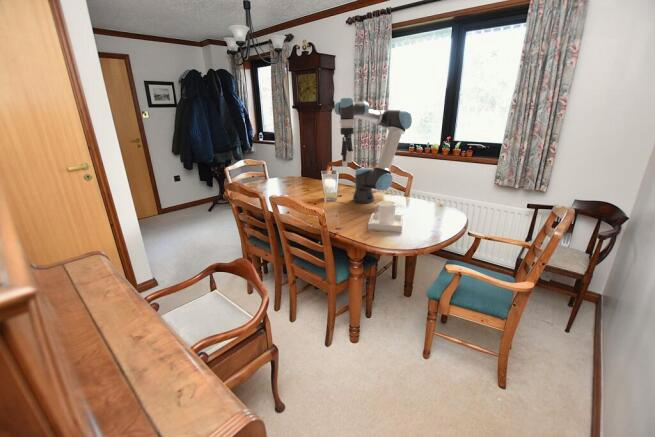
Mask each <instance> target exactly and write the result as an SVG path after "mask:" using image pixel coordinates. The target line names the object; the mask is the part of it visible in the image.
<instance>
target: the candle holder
mask: <svg viewBox="0 0 655 437" xmlns="http://www.w3.org/2000/svg"><path fill="white" fill-rule="evenodd" d="M396 206H397V204H396V202H394V201H390V200H383V201H379V202H378V203H377V213H378V222H379V224H390V225H393V223H394V215H395V214H396Z"/></svg>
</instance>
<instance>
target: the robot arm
mask: <svg viewBox="0 0 655 437" xmlns="http://www.w3.org/2000/svg"><path fill="white" fill-rule="evenodd" d="M333 110H334V113H335V114H336V115H339V116H340V121H339V124H340V128H339V130H340V135H341V136H342V142H341V152H340V156H342V157H341V158H342V159H341V160H342V163H341V164H342V166H341V167H342V168H347V167H348V163H353V152H354V148H353V139H352V135H354V134H355V132H354V131H355V128H354V126H355V122H354V121H355V119H358V120H362V121H367V122H371V123H372V124H373V125H376V126H380V127H381V128H386V129H387V130H388V132H387V136H386V139H385V142H384V145H383V147H382V148H383V149H382V151H381V154H380V157H379V160H378V163H377V165H376V166H375V167H373V168H372V167H361V168H357V169H355V175H354V176H355V181H354V183H355V187H354V188H355V190H354V193H353V195H352V196H353V197H352V202H354V203H357V204H370V203H373V202H374V201H375V196H374V192H373V189H374V190H378V191H386V190H388V189H389V188H390V187H391V186H392V183H393V176H392V171H391V167H392V164H393V162H394V159H395V154H396V152H397V149H398V146H399V143H400V140H401V136H402V135H404V134H405V132H406V131H407V130H408V129H409V128H410V127H411V126H412V119H413V118H412V115H411V113H410V112H409V110H405V109H386V110H385V109H383V110H382V109H372V108H370V105H369V103H368V102H367V101H364V100H360V101H355V99H354V98H353V97H341V98H340V101H338V102H336V103H335V104H334V109H333Z"/></svg>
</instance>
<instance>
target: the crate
mask: <svg viewBox="0 0 655 437" xmlns="http://www.w3.org/2000/svg"><path fill="white" fill-rule="evenodd" d="M403 224H404V214H400V213H398V214H397V213H395V215H394V223H393V225H390V224H379V222H378V212H372V213H371V215H370V217H369V220H368V223H367V231H371V232H373V231H374V232H382V233H383V232H385V233H398V234H399V233H400V234H402V232H403Z"/></svg>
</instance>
